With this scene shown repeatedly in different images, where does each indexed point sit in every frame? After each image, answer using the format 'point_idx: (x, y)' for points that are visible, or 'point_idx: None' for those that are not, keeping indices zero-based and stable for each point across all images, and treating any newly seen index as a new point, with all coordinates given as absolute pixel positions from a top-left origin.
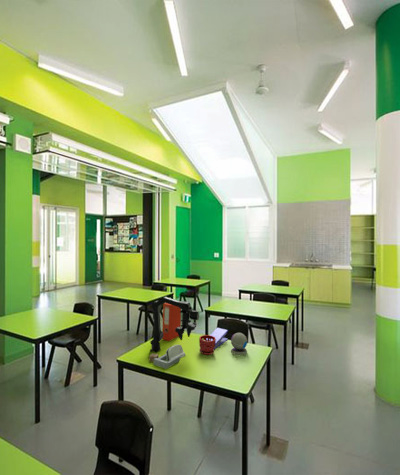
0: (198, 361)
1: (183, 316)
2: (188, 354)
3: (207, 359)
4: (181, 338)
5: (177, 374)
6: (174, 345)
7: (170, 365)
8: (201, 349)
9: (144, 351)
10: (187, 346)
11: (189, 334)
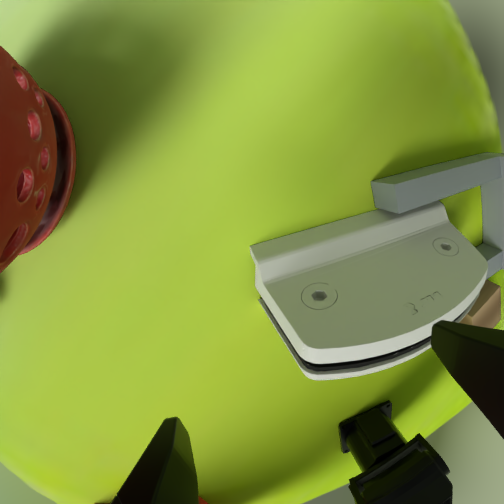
0: (235, 38)
1: None
2: (206, 244)
3: (126, 23)
4: (480, 331)
5: (468, 49)
6: (425, 335)
7: (464, 158)
8: (56, 165)
9: (406, 427)
10: (110, 395)
11: (167, 463)
